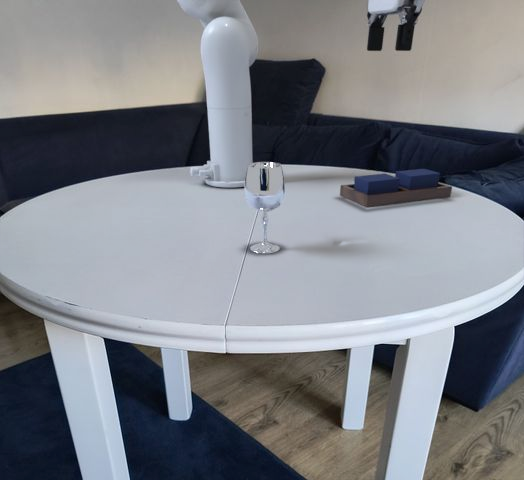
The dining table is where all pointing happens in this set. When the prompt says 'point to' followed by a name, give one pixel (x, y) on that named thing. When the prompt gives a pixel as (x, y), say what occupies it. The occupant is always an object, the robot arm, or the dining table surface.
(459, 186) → the dining table surface
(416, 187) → the blue rectangular block
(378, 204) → the wooden compartment tray
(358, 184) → the blue block
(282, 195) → the wineglass
